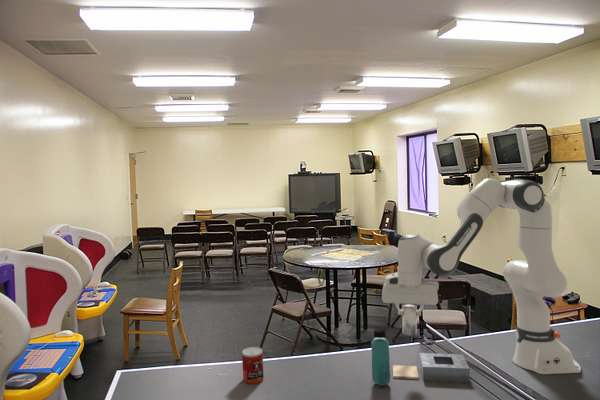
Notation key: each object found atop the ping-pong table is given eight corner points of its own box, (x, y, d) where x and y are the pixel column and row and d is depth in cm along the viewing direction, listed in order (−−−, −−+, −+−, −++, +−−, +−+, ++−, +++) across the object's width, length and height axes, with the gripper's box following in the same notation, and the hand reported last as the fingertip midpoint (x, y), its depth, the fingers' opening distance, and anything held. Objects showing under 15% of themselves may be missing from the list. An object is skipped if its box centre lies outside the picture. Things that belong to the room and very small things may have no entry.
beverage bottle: (386, 390, 150) (385, 334, 149) (368, 386, 153) (367, 331, 152) (393, 382, 155) (392, 328, 154) (375, 378, 159) (374, 325, 158)
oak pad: (416, 368, 166) (416, 366, 166) (418, 379, 157) (418, 377, 157) (392, 367, 168) (392, 365, 168) (393, 378, 159) (393, 375, 159)
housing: (463, 367, 166) (462, 354, 165) (469, 382, 154) (469, 368, 154) (419, 365, 168) (419, 353, 168) (423, 380, 157) (422, 366, 156)
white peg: (416, 330, 163) (416, 304, 163) (417, 335, 158) (417, 308, 158) (401, 330, 164) (402, 304, 164) (402, 335, 159) (402, 308, 159)
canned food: (247, 386, 156) (246, 357, 156) (240, 377, 164) (238, 349, 163) (267, 381, 160) (265, 352, 159) (259, 373, 167) (257, 345, 166)
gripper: (437, 277, 162) (437, 313, 162) (381, 275, 165) (381, 311, 166) (440, 281, 155) (439, 319, 156) (382, 279, 159) (382, 316, 160)
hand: (409, 315), depth 161 cm, fingers closed on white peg, 5 cm apart
